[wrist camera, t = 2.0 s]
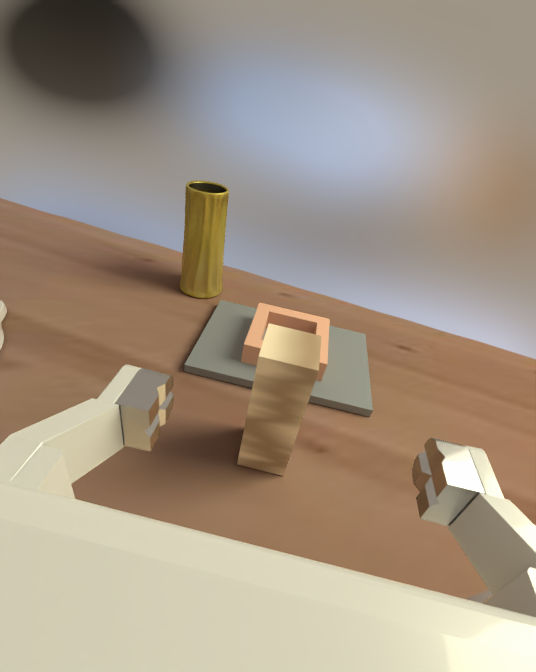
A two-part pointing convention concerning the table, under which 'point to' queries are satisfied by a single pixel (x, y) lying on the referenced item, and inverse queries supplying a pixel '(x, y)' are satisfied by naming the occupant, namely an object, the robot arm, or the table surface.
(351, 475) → the table surface
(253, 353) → the socket board
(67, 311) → the table surface
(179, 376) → the table surface
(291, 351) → the oak post
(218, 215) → the vase
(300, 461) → the table surface
